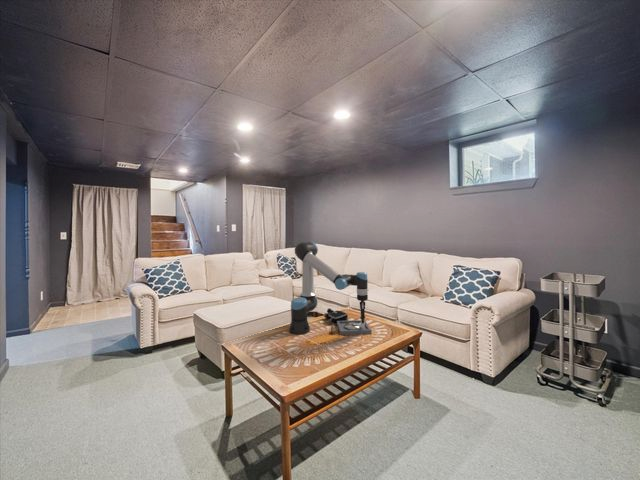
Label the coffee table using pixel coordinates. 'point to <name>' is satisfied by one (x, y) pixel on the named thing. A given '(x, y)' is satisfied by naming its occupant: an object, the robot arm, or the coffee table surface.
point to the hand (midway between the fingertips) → (362, 327)
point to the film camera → (335, 316)
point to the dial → (353, 326)
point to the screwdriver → (334, 330)
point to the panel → (348, 332)
